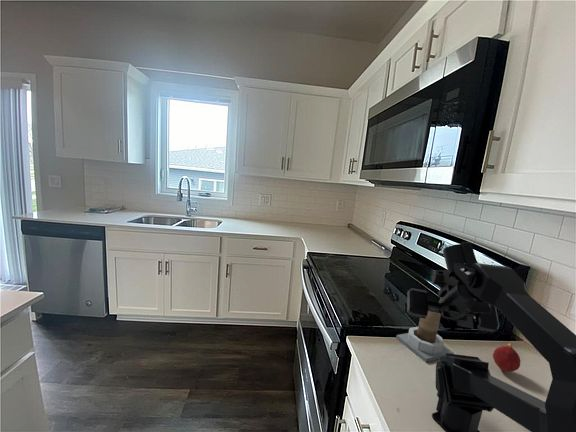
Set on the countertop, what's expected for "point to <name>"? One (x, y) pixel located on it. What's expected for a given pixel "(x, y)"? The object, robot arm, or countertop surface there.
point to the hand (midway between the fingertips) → (438, 319)
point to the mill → (428, 327)
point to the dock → (422, 354)
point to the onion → (506, 358)
